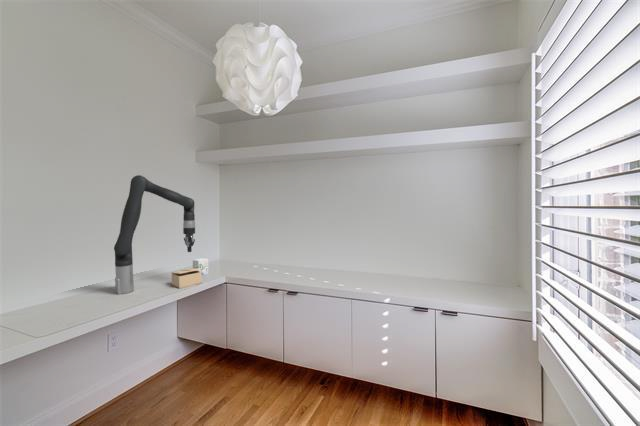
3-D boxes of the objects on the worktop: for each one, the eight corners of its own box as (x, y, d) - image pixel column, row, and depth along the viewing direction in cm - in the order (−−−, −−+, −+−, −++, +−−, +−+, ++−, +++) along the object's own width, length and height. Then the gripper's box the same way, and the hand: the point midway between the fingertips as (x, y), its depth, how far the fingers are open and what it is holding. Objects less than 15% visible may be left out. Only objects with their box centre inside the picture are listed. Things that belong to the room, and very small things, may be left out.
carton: (179, 288, 192) (179, 276, 191) (172, 284, 200) (171, 273, 200) (202, 283, 202) (201, 272, 202) (193, 280, 211) (193, 269, 211)
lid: (179, 273, 191) (179, 272, 191) (171, 273, 200) (171, 272, 200) (201, 269, 202) (201, 268, 202) (193, 269, 211) (193, 268, 211)
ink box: (198, 275, 223) (198, 260, 222) (192, 274, 228) (192, 259, 228) (208, 273, 230) (208, 258, 229) (202, 271, 235) (202, 257, 234)
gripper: (179, 226, 203) (179, 251, 204) (187, 227, 194) (188, 253, 195) (190, 226, 209) (190, 250, 210) (198, 227, 200) (199, 252, 201)
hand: (189, 251), depth 202 cm, fingers closed
